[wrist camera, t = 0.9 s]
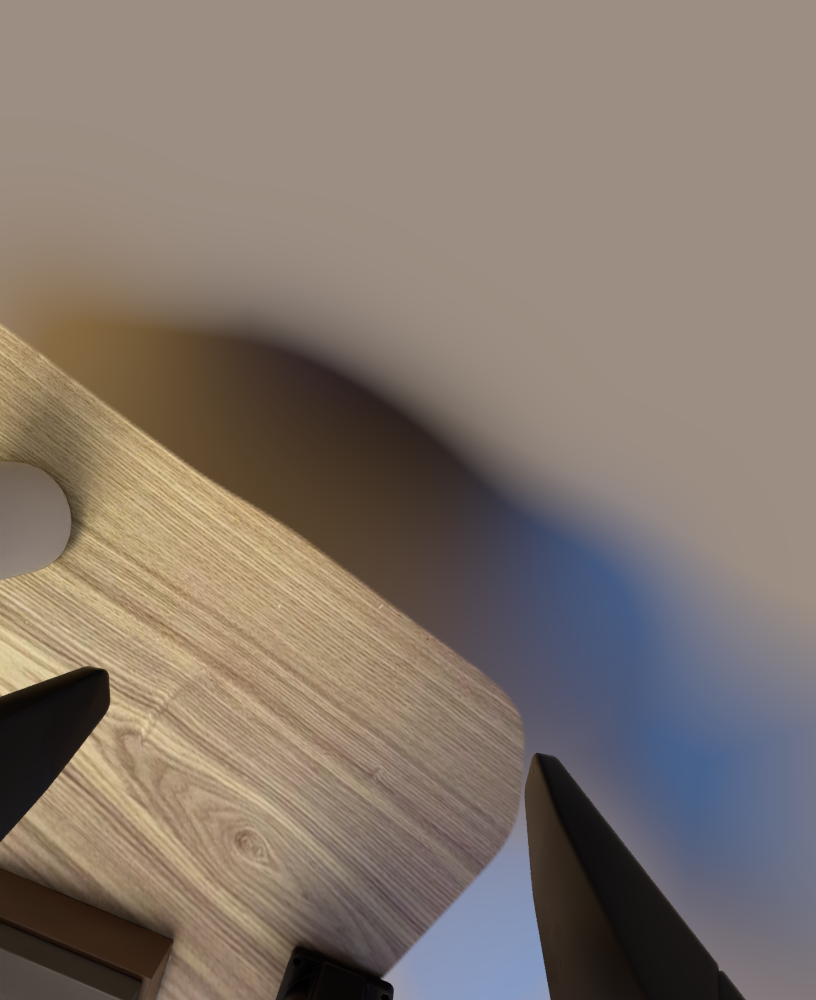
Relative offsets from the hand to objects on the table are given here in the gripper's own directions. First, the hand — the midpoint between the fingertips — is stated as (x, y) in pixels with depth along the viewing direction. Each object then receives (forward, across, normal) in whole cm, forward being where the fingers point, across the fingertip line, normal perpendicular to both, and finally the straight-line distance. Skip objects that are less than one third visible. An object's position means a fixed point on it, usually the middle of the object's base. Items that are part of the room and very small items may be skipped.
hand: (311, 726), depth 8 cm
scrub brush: (+10, +17, +29) cm, 35 cm away
